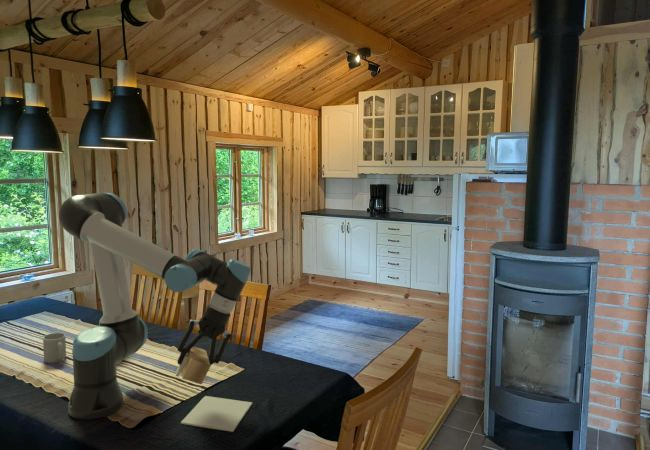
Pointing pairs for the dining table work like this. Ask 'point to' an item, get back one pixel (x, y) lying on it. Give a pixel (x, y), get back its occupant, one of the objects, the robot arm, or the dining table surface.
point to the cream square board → (217, 413)
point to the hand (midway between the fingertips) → (187, 377)
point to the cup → (54, 347)
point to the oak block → (196, 365)
